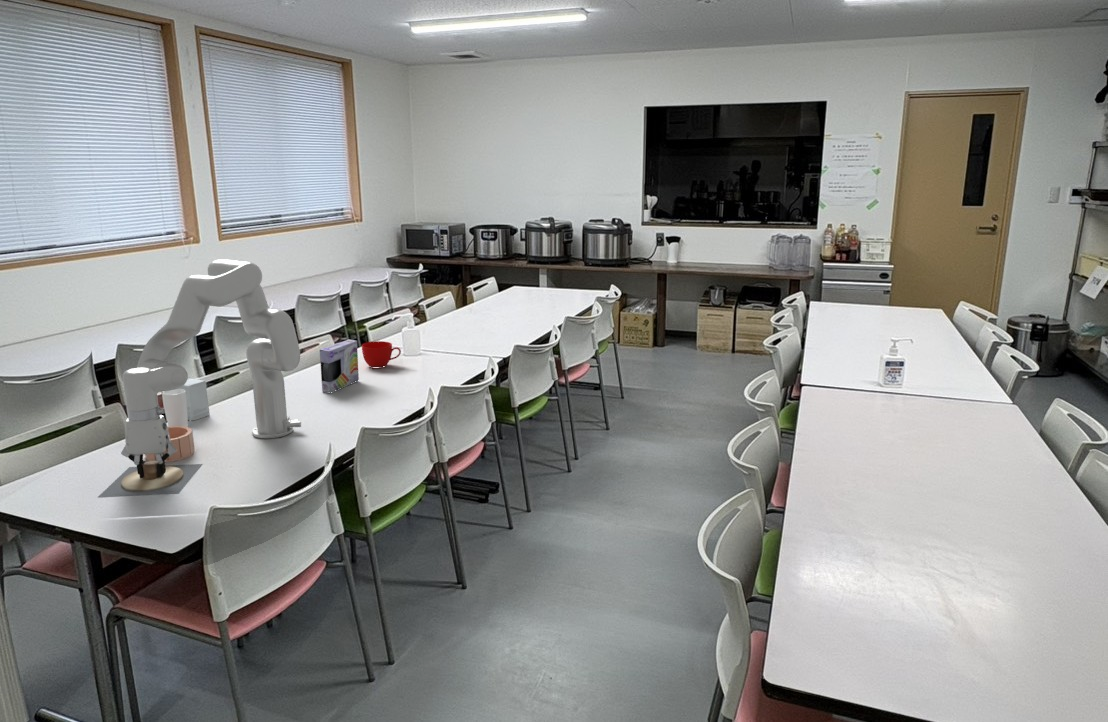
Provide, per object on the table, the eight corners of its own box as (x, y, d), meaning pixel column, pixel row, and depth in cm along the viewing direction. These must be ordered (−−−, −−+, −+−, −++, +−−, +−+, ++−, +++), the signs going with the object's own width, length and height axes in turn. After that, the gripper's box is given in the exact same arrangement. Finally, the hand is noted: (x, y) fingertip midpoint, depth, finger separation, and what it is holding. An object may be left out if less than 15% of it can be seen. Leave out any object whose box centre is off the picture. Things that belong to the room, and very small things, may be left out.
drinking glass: (181, 440, 229) (175, 395, 225) (162, 438, 230) (157, 393, 227) (195, 433, 236) (190, 389, 232) (177, 431, 237) (172, 387, 233)
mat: (202, 465, 210) (202, 463, 210) (178, 494, 191) (178, 493, 191) (129, 468, 207) (129, 467, 207) (97, 498, 188) (97, 497, 188)
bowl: (200, 446, 224) (197, 425, 222) (185, 462, 212) (183, 440, 210) (155, 448, 222) (152, 426, 221) (138, 464, 210) (135, 442, 208)
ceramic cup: (398, 370, 312) (397, 348, 309) (359, 370, 312) (358, 347, 309) (404, 363, 324) (403, 341, 321) (367, 362, 324) (366, 341, 322)
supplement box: (210, 414, 253) (206, 380, 250) (192, 421, 247) (188, 385, 243) (195, 411, 256) (191, 377, 253) (177, 417, 250) (173, 383, 246)
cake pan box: (330, 394, 278) (326, 350, 273) (319, 393, 279) (316, 349, 275) (360, 381, 295) (358, 339, 290) (350, 380, 297) (347, 338, 292)
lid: (190, 467, 208) (188, 452, 206) (172, 489, 193) (170, 473, 192) (134, 470, 205) (132, 454, 204) (112, 492, 191) (109, 476, 190)
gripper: (181, 407, 199) (189, 469, 204) (116, 410, 197) (125, 471, 201) (171, 416, 192) (179, 480, 197) (104, 419, 189) (114, 483, 194)
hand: (152, 475), depth 199 cm, fingers closed on lid, 4 cm apart
